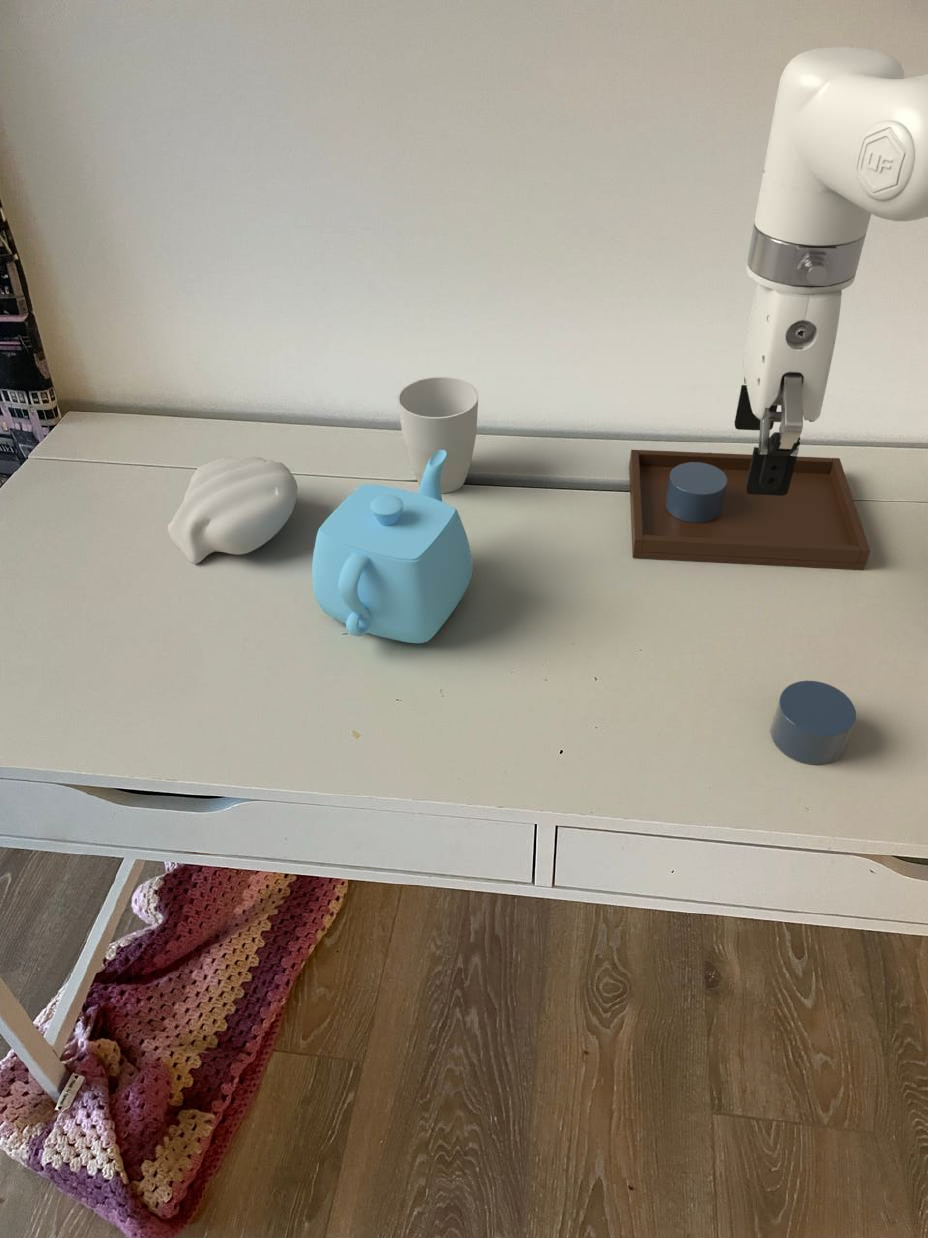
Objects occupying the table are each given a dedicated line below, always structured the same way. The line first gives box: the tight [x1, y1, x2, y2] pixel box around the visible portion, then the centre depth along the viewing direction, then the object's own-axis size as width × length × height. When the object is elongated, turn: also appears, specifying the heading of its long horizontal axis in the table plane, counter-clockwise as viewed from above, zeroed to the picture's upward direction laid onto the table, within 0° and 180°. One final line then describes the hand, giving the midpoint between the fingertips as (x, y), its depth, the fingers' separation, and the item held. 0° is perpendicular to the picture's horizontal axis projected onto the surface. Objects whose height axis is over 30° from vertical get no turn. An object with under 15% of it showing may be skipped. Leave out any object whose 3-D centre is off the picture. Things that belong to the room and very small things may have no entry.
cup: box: [396, 376, 479, 494], centre depth 97 cm, size 8×8×10 cm
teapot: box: [311, 450, 473, 644], centre depth 83 cm, size 12×18×12 cm
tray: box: [628, 449, 871, 571], centre depth 94 cm, size 22×16×2 cm
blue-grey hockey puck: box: [770, 680, 857, 766], centre depth 72 cm, size 6×6×4 cm
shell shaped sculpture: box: [167, 456, 298, 565], centre depth 93 cm, size 13×13×6 cm
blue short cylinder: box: [665, 462, 727, 523], centre depth 94 cm, size 6×6×4 cm
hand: (759, 459), depth 78 cm, fingers open, 9 cm apart
